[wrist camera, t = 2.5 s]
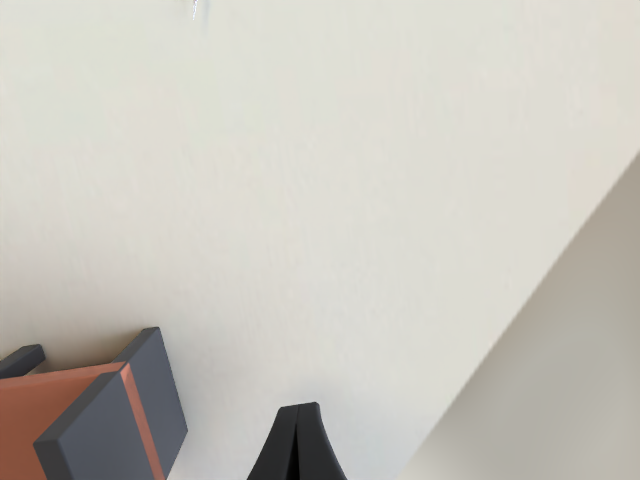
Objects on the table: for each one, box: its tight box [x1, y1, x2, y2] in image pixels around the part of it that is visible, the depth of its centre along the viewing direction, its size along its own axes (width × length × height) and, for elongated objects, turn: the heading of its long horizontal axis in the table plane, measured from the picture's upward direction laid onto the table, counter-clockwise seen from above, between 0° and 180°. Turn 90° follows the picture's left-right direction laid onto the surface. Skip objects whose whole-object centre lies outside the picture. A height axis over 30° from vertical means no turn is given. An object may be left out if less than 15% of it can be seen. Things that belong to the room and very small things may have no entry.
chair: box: [0, 327, 188, 480], centre depth 12 cm, size 6×6×6 cm
